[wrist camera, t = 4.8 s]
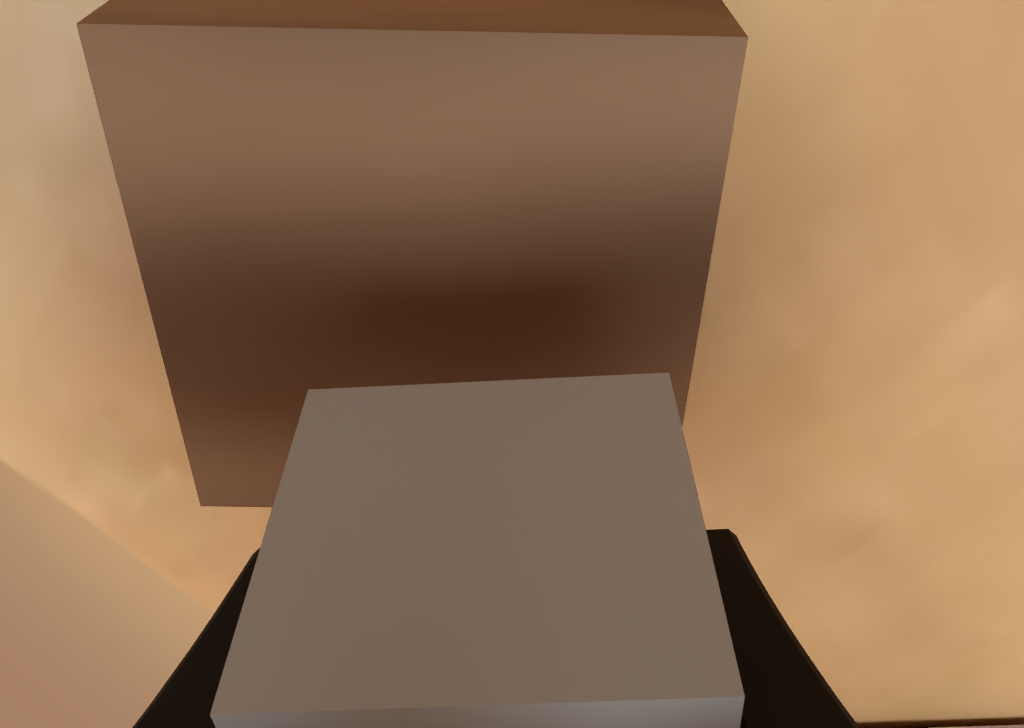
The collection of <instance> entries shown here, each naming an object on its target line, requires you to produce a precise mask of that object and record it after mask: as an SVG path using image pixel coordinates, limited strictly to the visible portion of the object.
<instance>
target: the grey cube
mask: <svg viewBox="0 0 1024 728" xmlns="http://www.w3.org/2000/svg"><path fill="white" fill-rule="evenodd" d="M744 698H745V695H744V691H743V687H742V682H741V678H740V674H739V670H738V665H737V661H736V657H735V652H734V648H733V644H732V640H731V635H730V631H729V627H728V622H727V618H726V614H725V610H724V605H723V601H722V597H721V592H720V588H719V584H718V580H717V575H716V571H715V567H714V563H713V558H712V554H711V550H710V545H709V541H708V537H707V533H706V528H705V524H704V520H703V515H702V511H701V507H700V503H699V498H698V494H697V490H696V485H695V481H694V477H693V473H692V468H691V464H690V460H689V455H688V451H687V447H686V443H685V438H684V434H683V430H682V426H681V421H680V417H679V413H678V408H677V404H676V400H675V396H674V391H673V387H672V383H671V378H670V374H669V373H650V374H628V375H607V376H586V377H565V378H544V379H523V380H502V381H480V382H459V383H438V384H417V385H396V386H375V387H354V388H333V389H311V390H308V392H307V395H306V398H305V402H304V405H303V408H302V412H301V415H300V418H299V422H298V425H297V428H296V432H295V435H294V438H293V441H292V445H291V448H290V451H289V455H288V458H287V461H286V465H285V468H284V471H283V475H282V478H281V481H280V484H279V488H278V491H277V494H276V498H275V501H274V504H273V508H272V511H271V514H270V518H269V521H268V524H267V527H266V531H265V534H264V537H263V541H262V544H261V547H260V551H259V554H258V557H257V560H256V564H255V567H254V570H253V574H252V577H251V580H250V584H249V587H248V590H247V594H246V597H245V600H244V603H243V607H242V610H241V613H240V617H239V620H238V623H237V627H236V630H235V633H234V637H233V640H232V643H231V646H230V650H229V653H228V656H227V660H226V663H225V666H224V670H223V673H222V676H221V680H220V683H219V686H218V689H217V693H216V696H215V699H214V703H213V706H212V709H211V713H210V716H211V718H212V720H213V723H214V725H215V727H216V728H740V724H741V718H742V711H743V705H744Z"/></svg>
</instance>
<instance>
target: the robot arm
mask: <svg viewBox="0 0 1024 728" xmlns="http://www.w3.org/2000/svg"><path fill="white" fill-rule="evenodd" d="M706 533H707V537H708V541H709V545H710V550H711V554H712V558H713V563H714V567H715V571H716V575H717V580H718V584H719V588H720V592H721V597H722V601H723V605H724V610H725V614H726V618H727V622H728V627H729V631H730V635H731V640H732V644H733V648H734V652H735V657H736V661H737V665H738V670H739V674H740V678H741V682H742V687H743V691H744V695H745V698H744V705H743V711H742V718H741V724H740V728H860V727H859V726H858V725H857V724H856V722H855V721H854V720H853V718H852V717H851V715H850V714H849V713H848V711H847V710H846V709H845V707H844V706H843V705H842V703H841V702H840V700H839V699H838V698H837V696H836V695H835V694H834V692H833V691H832V689H831V688H830V686H829V685H828V684H827V682H826V681H825V679H824V678H823V676H822V675H821V673H820V672H819V671H818V669H817V668H816V666H815V665H814V663H813V662H812V660H811V659H810V658H809V656H808V655H807V653H806V652H805V650H804V649H803V647H802V646H801V644H800V643H799V641H798V640H797V638H796V637H795V635H794V634H793V632H792V631H791V629H790V628H789V626H788V625H787V623H786V621H785V620H784V618H783V617H782V615H781V613H780V612H779V610H778V608H777V607H776V605H775V604H774V602H773V600H772V599H771V597H770V596H769V594H768V592H767V591H766V589H765V587H764V585H763V584H762V582H761V580H760V579H759V577H758V575H757V573H756V572H755V570H754V568H753V566H752V565H751V563H750V561H749V559H748V557H747V555H746V553H745V552H744V550H743V548H742V546H741V544H740V542H739V540H738V538H737V536H736V535H735V534H734V533H732V532H731V531H730V530H729V529H718V530H706ZM259 551H260V548H259V549H258V550H257V551H256V552H255V553H254V554H253V555H252V556H251V558H250V559H249V561H248V563H247V564H246V566H245V567H244V569H243V570H242V572H241V573H240V575H239V577H238V578H237V580H236V581H235V583H234V584H233V586H232V587H231V589H230V590H229V592H228V594H227V595H226V597H225V598H224V600H223V601H222V603H221V604H220V606H219V607H218V609H217V610H216V612H215V613H214V615H213V616H212V618H211V619H210V621H209V622H208V624H207V625H206V627H205V628H204V630H203V631H202V633H201V634H200V635H199V637H198V638H197V640H196V641H195V643H194V644H193V646H192V647H191V648H190V650H189V651H188V653H187V654H186V655H185V657H184V658H183V660H182V661H181V663H180V664H179V665H178V667H177V668H176V669H175V671H174V672H173V674H172V675H171V676H170V678H169V679H168V681H167V682H166V683H165V685H164V686H163V688H162V689H161V690H160V692H159V693H158V694H157V696H156V697H155V699H154V700H153V701H152V703H151V704H150V705H149V707H148V708H147V709H146V711H145V712H144V713H143V715H142V716H141V717H140V719H139V720H138V721H137V723H136V724H135V725H134V726H133V728H216V727H215V725H214V723H213V720H212V718H211V716H210V713H211V709H212V706H213V703H214V699H215V696H216V693H217V689H218V686H219V683H220V680H221V676H222V673H223V670H224V666H225V663H226V660H227V656H228V653H229V650H230V646H231V643H232V640H233V637H234V633H235V630H236V627H237V623H238V620H239V617H240V613H241V610H242V607H243V603H244V600H245V597H246V594H247V590H248V587H249V584H250V580H251V577H252V574H253V570H254V567H255V564H256V560H257V557H258V554H259ZM930 728H1024V725H994V726H962V727H930Z"/></svg>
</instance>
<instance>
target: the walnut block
mask: <svg viewBox="0 0 1024 728" xmlns="http://www.w3.org/2000/svg"><path fill="white" fill-rule="evenodd" d="M77 28H78V32H79V35H80V39H81V43H82V47H83V51H84V55H85V59H86V63H87V67H88V70H89V74H90V78H91V82H92V86H93V90H94V94H95V98H96V101H97V105H98V109H99V113H100V117H101V121H102V125H103V129H104V132H105V136H106V140H107V144H108V148H109V152H110V156H111V160H112V163H113V167H114V171H115V175H116V179H117V183H118V187H119V191H120V195H121V198H122V202H123V206H124V210H125V214H126V218H127V222H128V226H129V229H130V233H131V237H132V241H133V245H134V249H135V253H136V257H137V260H138V264H139V268H140V272H141V276H142V280H143V284H144V288H145V292H146V295H147V299H148V303H149V307H150V311H151V315H152V319H153V323H154V326H155V330H156V334H157V338H158V342H159V346H160V350H161V354H162V357H163V361H164V365H165V369H166V373H167V377H168V381H169V385H170V388H171V392H172V396H173V400H174V404H175V408H176V412H177V416H178V420H179V423H180V427H181V431H182V435H183V439H184V443H185V447H186V451H187V454H188V458H189V462H190V466H191V470H192V474H193V478H194V482H195V485H196V489H197V493H198V497H199V501H200V505H201V506H231V507H273V504H274V501H275V498H276V494H277V491H278V488H279V484H280V481H281V478H282V475H283V471H284V468H285V465H286V461H287V458H288V455H289V451H290V448H291V445H292V441H293V438H294V435H295V432H296V428H297V425H298V422H299V418H300V415H301V412H302V408H303V405H304V402H305V398H306V395H307V392H308V390H311V389H333V388H354V387H375V386H396V385H417V384H438V383H459V382H480V381H502V380H523V379H544V378H565V377H586V376H607V375H628V374H650V373H669V374H670V378H671V383H672V387H673V391H674V396H675V400H676V404H677V408H678V413H679V417H680V421H681V426H682V425H683V419H684V413H685V407H686V401H687V395H688V389H689V383H690V377H691V371H692V365H693V360H694V354H695V348H696V342H697V336H698V330H699V324H700V318H701V312H702V306H703V300H704V294H705V289H706V283H707V277H708V271H709V265H710V259H711V253H712V247H713V241H714V235H715V229H716V223H717V218H718V212H719V206H720V200H721V194H722V188H723V182H724V176H725V170H726V164H727V158H728V152H729V147H730V141H731V135H732V129H733V123H734V117H735V111H736V105H737V99H738V93H739V87H740V81H741V76H742V70H743V64H744V58H745V52H746V46H747V40H748V36H747V35H746V34H745V32H744V31H743V29H742V28H741V27H740V25H739V24H738V22H737V21H736V20H735V18H734V17H733V15H732V14H731V13H730V11H729V10H728V8H727V7H726V6H725V4H724V3H723V1H722V0H109V1H108V2H106V3H105V4H103V5H102V6H101V7H99V8H98V9H96V10H95V11H94V12H92V13H91V14H89V15H88V16H87V17H85V18H84V19H82V20H81V21H80V22H78V23H77Z"/></svg>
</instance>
